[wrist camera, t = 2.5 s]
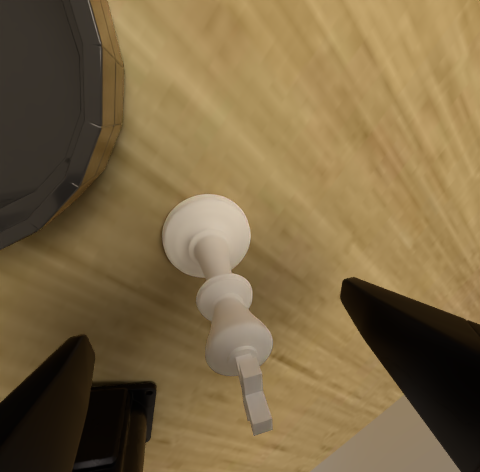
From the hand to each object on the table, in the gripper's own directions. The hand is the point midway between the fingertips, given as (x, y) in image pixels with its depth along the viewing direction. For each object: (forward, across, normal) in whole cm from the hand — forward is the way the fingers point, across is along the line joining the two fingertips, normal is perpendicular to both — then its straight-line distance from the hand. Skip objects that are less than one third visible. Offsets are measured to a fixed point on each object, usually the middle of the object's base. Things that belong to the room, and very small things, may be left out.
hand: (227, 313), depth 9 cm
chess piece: (+6, 0, 0) cm, 7 cm away
